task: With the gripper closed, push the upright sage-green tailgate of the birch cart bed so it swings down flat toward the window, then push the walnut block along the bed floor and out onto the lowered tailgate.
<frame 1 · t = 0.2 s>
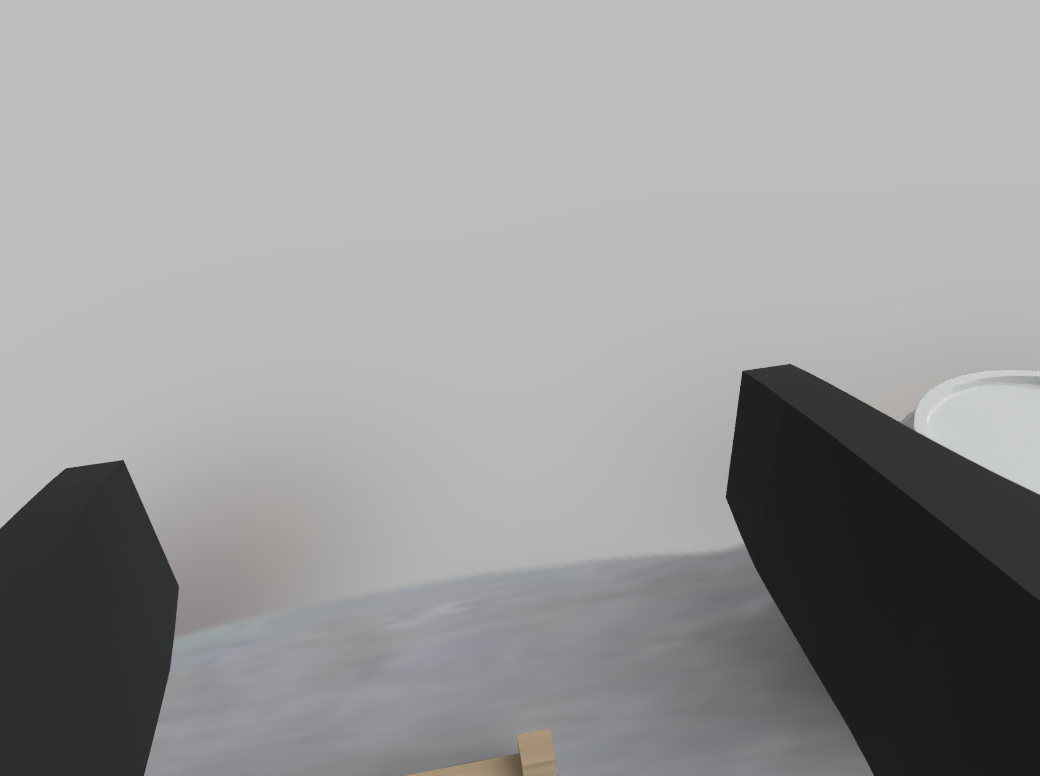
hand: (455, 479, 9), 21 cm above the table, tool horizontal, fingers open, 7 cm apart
disposable coffee cup: (970, 696, 30), on the table
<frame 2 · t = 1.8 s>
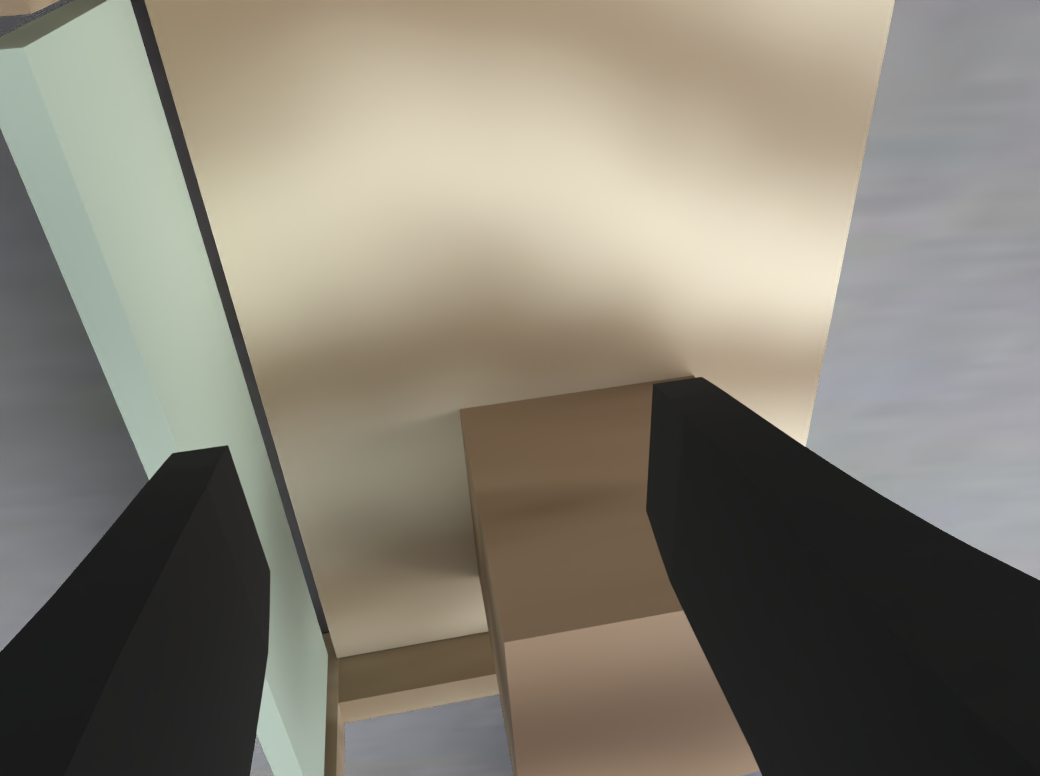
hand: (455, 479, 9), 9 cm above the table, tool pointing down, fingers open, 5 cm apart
cart bed: (530, 351, 20), on the table
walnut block: (579, 482, 21), point 1 cm above the table, touching cart bed
tailgate: (227, 487, 16), point 4 cm above the table, hinge at 0.0°
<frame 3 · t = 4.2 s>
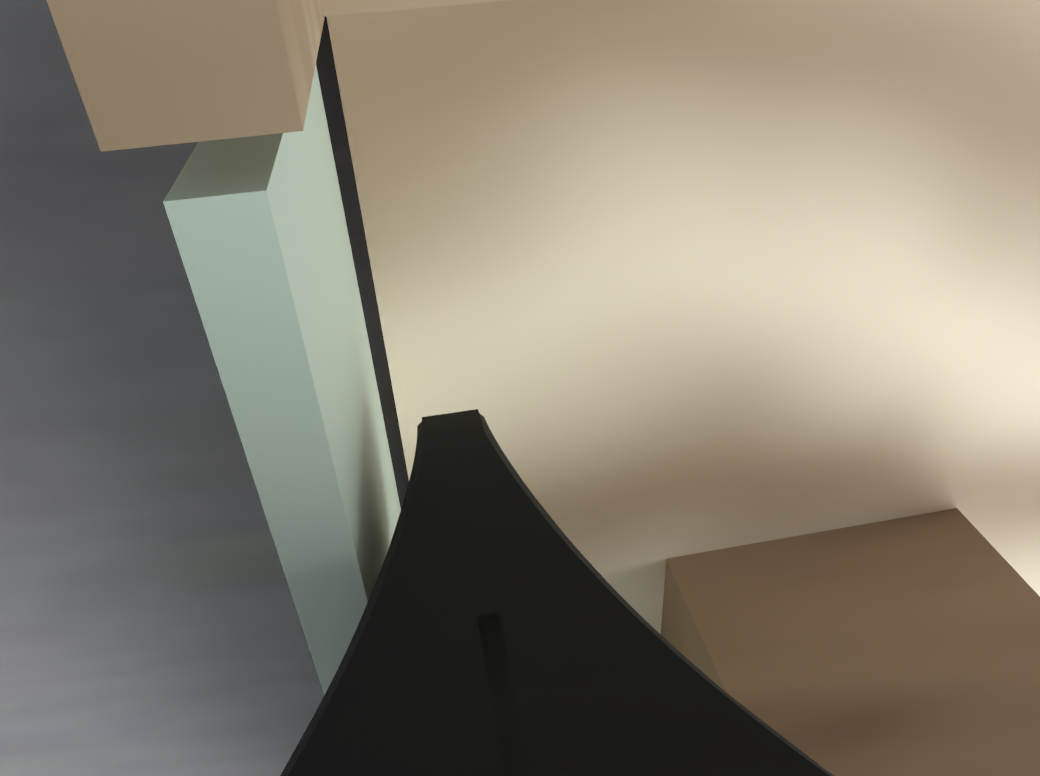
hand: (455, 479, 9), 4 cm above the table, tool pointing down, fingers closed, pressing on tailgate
cart bed: (749, 478, 15), on the table
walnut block: (792, 632, 17), point 1 cm above the table, touching cart bed
tailgate: (402, 705, 12), point 4 cm above the table, hinge at 0.5°, touching gripper
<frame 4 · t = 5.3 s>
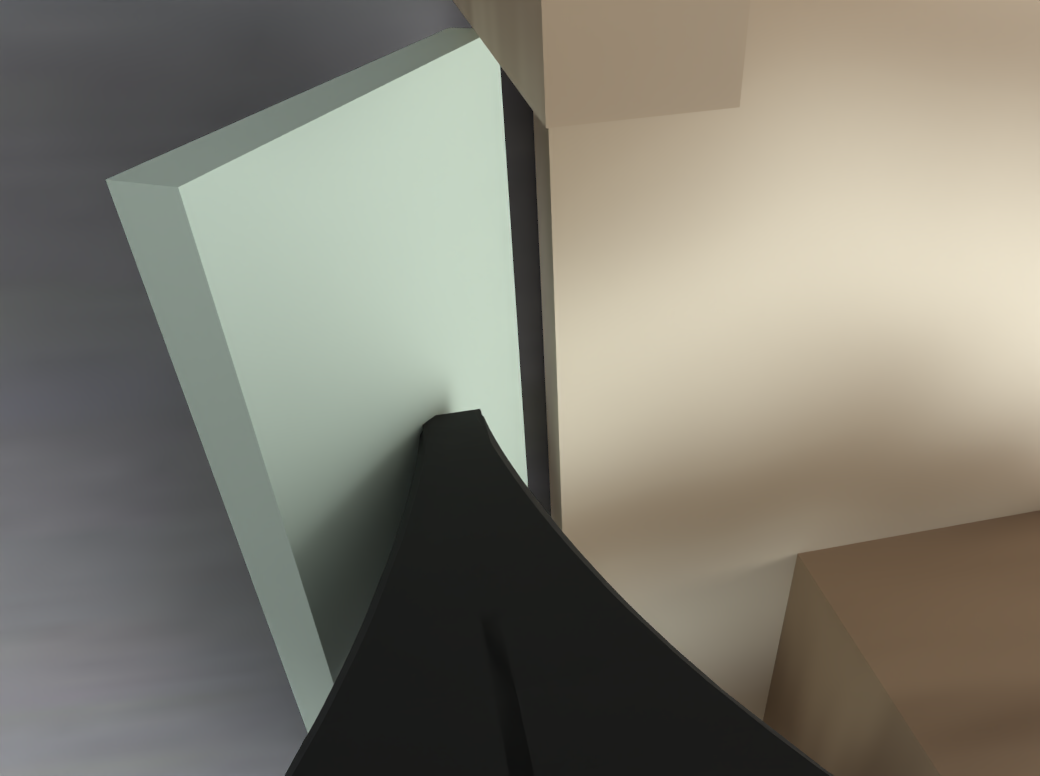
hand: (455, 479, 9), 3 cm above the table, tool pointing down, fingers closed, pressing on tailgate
cart bed: (875, 472, 15), on the table
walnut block: (908, 628, 17), point 1 cm above the table, touching cart bed
tailgate: (456, 694, 12), point 3 cm above the table, hinge at 32.1°, touching gripper
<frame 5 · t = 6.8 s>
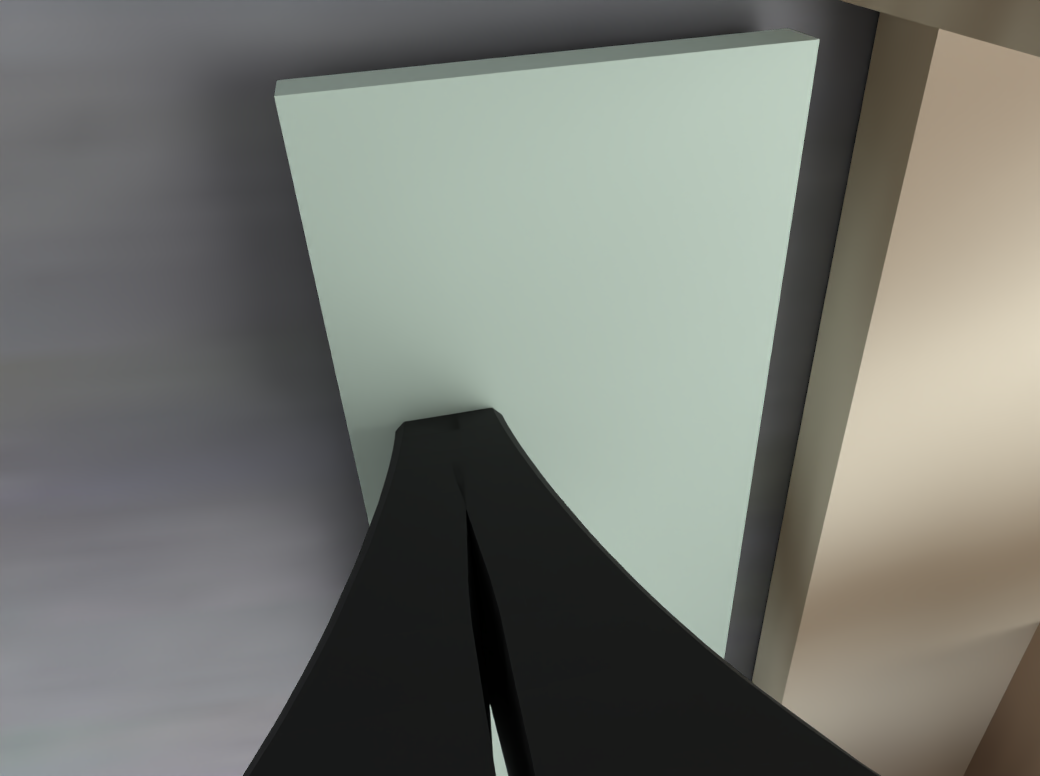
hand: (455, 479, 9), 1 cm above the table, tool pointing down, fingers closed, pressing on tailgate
tailgate: (568, 660, 12), point 1 cm above the table, hinge at 87.6°, touching gripper
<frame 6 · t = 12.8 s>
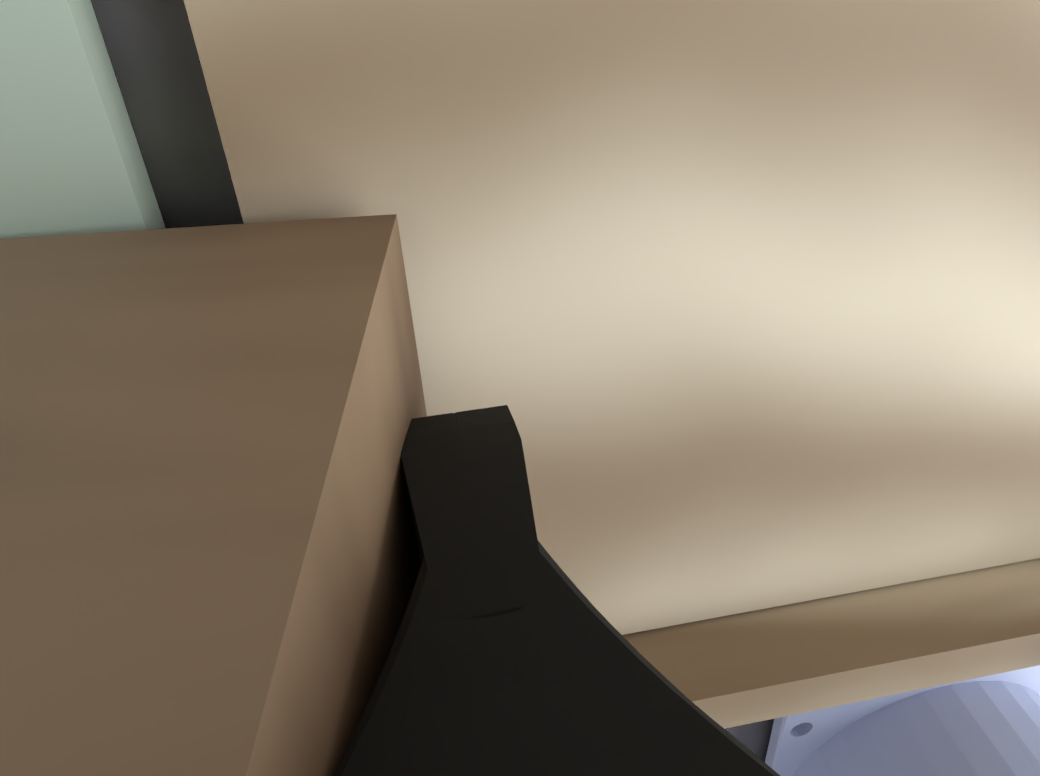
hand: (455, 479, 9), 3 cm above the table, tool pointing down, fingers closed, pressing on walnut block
cart bed: (760, 77, 10), on the table
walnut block: (201, 445, 10), point 1 cm above the table, tilted 8°, touching gripper, tailgate
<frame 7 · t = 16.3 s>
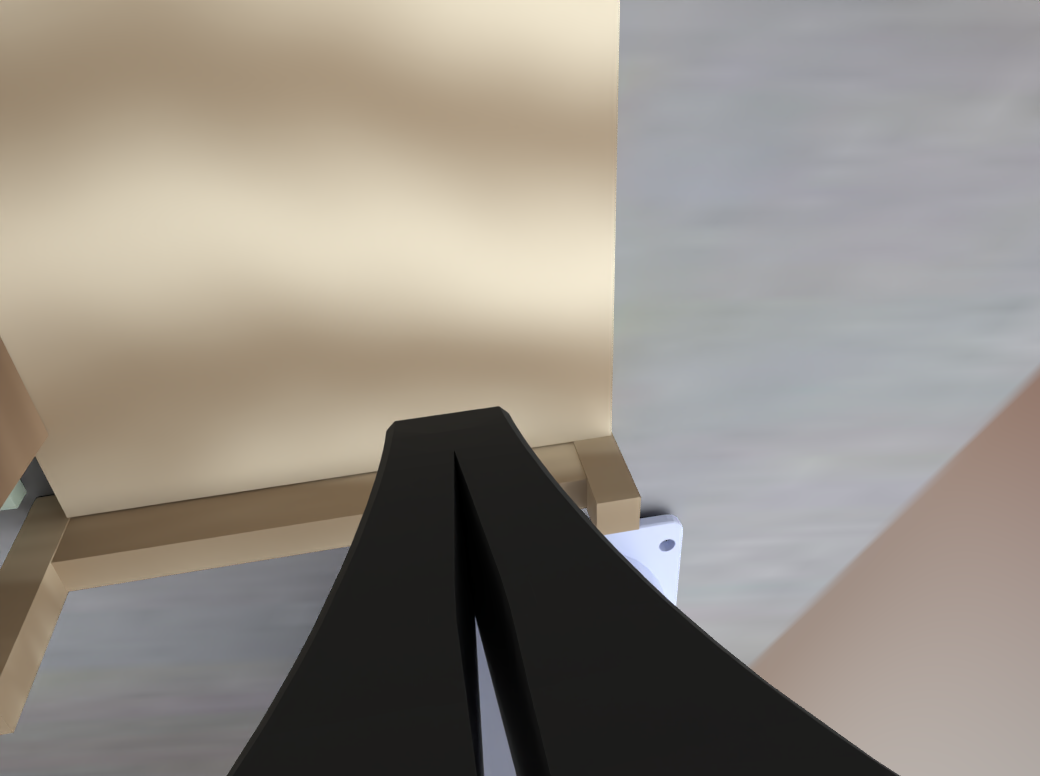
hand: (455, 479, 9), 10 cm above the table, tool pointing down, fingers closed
cart bed: (246, 102, 16), on the table
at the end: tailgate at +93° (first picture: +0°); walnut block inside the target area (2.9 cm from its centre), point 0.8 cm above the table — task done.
